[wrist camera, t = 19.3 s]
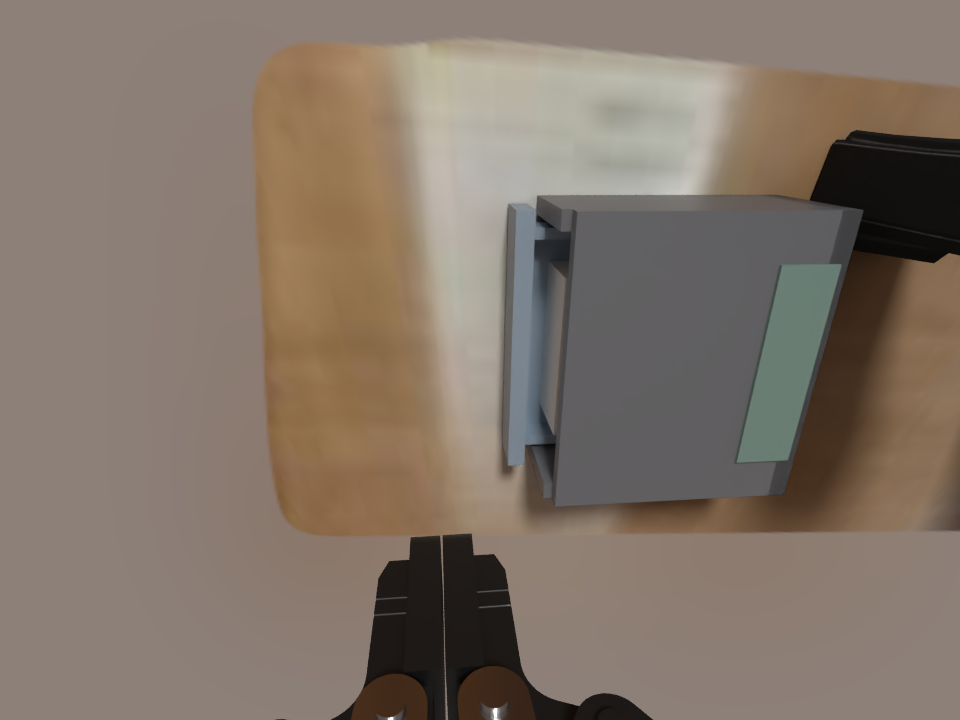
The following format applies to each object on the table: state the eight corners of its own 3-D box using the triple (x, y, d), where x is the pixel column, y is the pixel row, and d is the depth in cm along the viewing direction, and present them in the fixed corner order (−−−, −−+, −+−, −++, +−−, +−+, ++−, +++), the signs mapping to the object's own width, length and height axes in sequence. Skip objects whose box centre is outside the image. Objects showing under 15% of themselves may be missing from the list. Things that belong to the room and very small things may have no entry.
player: (777, 195, 31) (866, 210, 24) (725, 435, 37) (786, 496, 31) (537, 195, 29) (567, 212, 23) (525, 443, 36) (546, 509, 29)
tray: (750, 202, 30) (780, 209, 28) (705, 432, 36) (726, 455, 34) (508, 203, 29) (516, 210, 27) (502, 441, 35) (508, 465, 33)
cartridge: (634, 260, 31) (663, 278, 27) (616, 399, 34) (640, 433, 30) (548, 260, 30) (566, 279, 26) (539, 402, 34) (553, 436, 30)
